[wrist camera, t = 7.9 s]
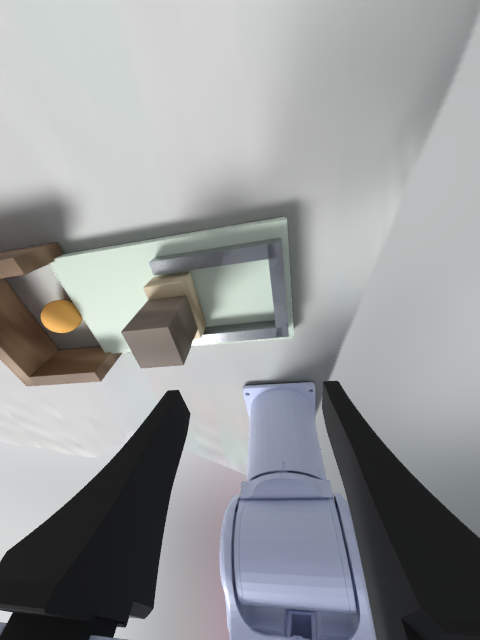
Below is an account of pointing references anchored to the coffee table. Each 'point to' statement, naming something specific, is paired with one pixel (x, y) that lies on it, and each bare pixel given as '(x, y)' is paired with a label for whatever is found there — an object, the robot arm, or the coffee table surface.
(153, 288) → the block
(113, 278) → the plate
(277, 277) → the rail
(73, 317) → the ball
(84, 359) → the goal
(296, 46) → the coffee table surface
